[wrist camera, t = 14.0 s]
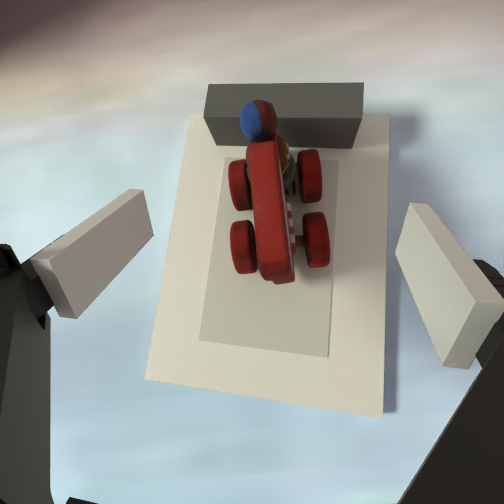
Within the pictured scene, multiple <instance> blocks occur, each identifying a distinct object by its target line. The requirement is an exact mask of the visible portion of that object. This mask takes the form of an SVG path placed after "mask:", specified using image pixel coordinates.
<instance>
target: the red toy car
mask: <svg viewBox="0 0 504 504" xmlns="http://www.w3.org/2000/svg"><path fill="white" fill-rule="evenodd" d="M277 123H278V121H277V116H276V112H275V110H274V107H273V104H272V103H271V102H266V101H263V100H253V101H251V102H249V103H248V104H247V105H245V107H244V108H243V110H242V112H241V115H240V126H241V129H242V131H243V133H244V135H245V136H246V137H247V138H248V139H250V143H249V145H248V147H247V149H246V159H241V160H235V161H232V162H230V164H229V167H228V179H229V189H230V194H231V199H232V202H233V205H234V207H235V209H236V210H237V211H247V210H252V209H253V216H254V226H253V224H252V222H251V221H250V220H242V221H236V222H233V223H232V225H231V228H230V249H231V255H232V260H233V264H234V267H235V270H236V271H237V273H239V274H252V273H255V272H257V269H258V267H259V271H260V274H261V276H262V278H263V279H264V280H265V281H272V282H273V283H274V284H276V285H279V284H286V283H291V282H294V281H295V272H294V262H293V256H294V254H295V251H296V248H305V254H306V260H307V264H308V266H309V267H310V268H319V267H326V266H328V265H329V263H330V239H329V232H328V226H327V221H326V218H325V215H324V213H323V212H311V213H305V214H304V215H303V217H302V228H303V235H298V236H294V226H293V219H292V211H291V205H290V202H289V200H288V199H287V198H286V196H285V194H287V195H288V196H294V195H300V196H301V201H302V202H303V203H304V204H308V203H316V202H319V201H320V200H321V198H322V170H321V162H320V157H319V153H318V150H317V149H308V150H301V151H300V152H298V155H297V162H295V161H294V158H293V156H292V155H291V154H290V149H289V146H288V144H287V142H286V141H285V140H284V139H283V137H281V136H280V135H279V134H278V130H277ZM254 227H255V230H254Z"/></svg>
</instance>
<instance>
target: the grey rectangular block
mask: <svg viewBox="0 0 504 504" xmlns="http://www.w3.org/2000/svg"><path fill="white" fill-rule="evenodd" d="M363 91H364V82H363V83H274V84H209V85H208V91H207V97H206V103H205V109H204V115H203V118H204V120H205V122H206V124H207V126H208V128H209V131H210V133H211V135H212V137H213V139H214V142H215V144H216V146H248V145H249V143H250V139H248V138H247V137H246V136H245V135H244V133H243V131H242V129H241V126H240V115H241V112H242V110H243V108H244V107H245V105H247V104H248V103H249V102H251V101H253V100H263V101H266V102H271V103H272V104H273V107H274V110H275V112H276V116H277V121H278V123H277V130H278V134H279V135H280V136H281V137H283V139H284V140H285V141H286V142H287V144H288V146H289V147H295V148H337V149H352V147H353V144H354V141H355V138H356V135H357V132H358V129H359V126H360V124H361V121H362V114H363Z"/></svg>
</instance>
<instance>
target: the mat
mask: <svg viewBox="0 0 504 504" xmlns="http://www.w3.org/2000/svg"><path fill="white" fill-rule="evenodd" d="M203 115H204V114H191V116H190V122H189V128H188V134H187V139H186V145H185V151H184V156H183V162H182V168H181V173H180V179H179V185H178V191H177V196H176V202H175V208H174V213H173V219H172V225H171V230H170V236H169V242H168V248H167V253H166V259H165V265H164V270H163V276H162V282H161V287H160V293H159V299H158V305H157V310H156V316H155V322H154V327H153V333H152V339H151V344H150V350H149V356H148V362H147V367H146V373H145V379H147V380H153V381H159V382H165V383H171V384H178V385H184V386H190V387H196V388H202V389H208V390H214V391H220V392H226V393H232V394H238V395H245V396H251V397H257V398H263V399H269V400H275V401H281V402H287V403H293V404H299V405H305V406H311V407H318V408H324V409H330V410H336V411H342V412H348V413H354V414H360V415H366V416H372V417H378V418H383V391H384V347H385V304H386V261H387V218H388V174H389V131H390V115H362V121H361V124H360V126H359V129H358V132H357V135H356V138H355V141H354V144H353V147H352V149H337V148H295V147H289V149H290V154H291V155H292V156H293V158H294V161H295V162H297V155H298V152H300V151H301V150H308V149H317V150H318V153H319V157H320V162H321V170H322V198H321V200H320V201H319V202H316V203H308V204H304V203H303V202H302V201H301V196H300V195H294V196H288V195H287V194H285V196H286V198H287V199H288V200H289V202H290V205H291V211H292V219H293V226H294V236H298V235H303V228H302V217H303V215H304V214H305V213H311V212H323V213H324V215H325V218H326V221H327V226H328V232H329V239H330V263H329V265H328V266H326V267H319V268H310V267H309V266H308V264H307V260H306V254H305V248H296V251H295V254H294V256H293V262H294V272H295V281H294V282H291V283H286V284H279V285H276V284H274V283H273V282H272V281H265V280H264V279H263V278H262V276H261V274H260V271H259V267H258V269H257V272H255V273H252V274H239V273H237V271H236V270H235V267H234V264H233V260H232V255H231V249H230V228H231V225H232V223H233V222H236V221H242V220H250V221H251V222H252V224H253V226H254V216H253V209H252V210H247V211H237V210H236V209H235V207H234V205H233V202H232V199H231V194H230V189H229V179H228V167H229V164H230V162H232V161H235V160H241V159H246V149H247V147H248V146H216V144H215V142H214V139H213V137H212V135H211V133H210V131H209V128H208V126H207V124H206V122H205V120H204V118H203ZM254 230H255V227H254Z"/></svg>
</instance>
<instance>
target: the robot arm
mask: <svg viewBox="0 0 504 504" xmlns="http://www.w3.org/2000/svg"><path fill="white" fill-rule="evenodd" d="M153 236H154V234H153V230H152V226H151V222H150V217H149V213H148V209H147V205H146V200H145V196H144V192H143V190H136V189H129V190H128V191H126V192H125V193H124V194H122V195H121V196H119V197H118V198H116V199H115V200H113V201H112V202H111V203H109V204H108V205H106V206H105V207H103V208H102V209H101V210H99V211H98V212H96V213H95V214H93V215H92V216H91V217H89V218H88V219H86V220H85V221H83V222H82V223H80V224H79V225H78V226H76V227H75V228H73V229H72V230H70V231H69V232H68V233H66V234H64V235H62V236H61V237H59V238H58V239H56V240H55V241H53V243H51V244H49V245H48V246H46V248H43V249H42V250H40V251H39V252H38V253H36V254H35V255H33V256H32V257H30V258H29V259H27V260H26V261H25V262H23V263H22V264H20V262H19V260H18V259H17V257H16V255H15V253H14V251H13V250H12V248H11V246H10V245H7V244H0V504H54V502H53V499H52V496H51V491H50V320H51V319H50V317H49V315H48V313H47V311H48V310H49V309H50V308H51V307H52V306H54V307H55V309H56V311H57V312H58V314H59V316H60V317H66V318H74V319H77V318H78V317H79V316H80V315H81V314H82V313H83V312H84V311H85V310H86V308H87V307H88V306H89V305H90V304H91V303H92V302H93V301H94V300H95V299H96V298H97V297H98V295H99V294H100V293H101V292H102V291H103V290H104V289H105V288H106V287H107V286H108V285H109V283H110V282H111V281H112V280H113V279H114V278H115V277H116V276H117V275H118V274H119V273H120V272H121V270H122V269H123V268H124V267H125V266H126V265H127V264H128V263H129V262H130V261H131V260H132V258H133V257H134V256H135V255H136V254H137V253H138V252H139V251H140V250H141V249H142V248H143V247H144V245H145V244H146V243H147V242H148V241H149V240H150V239H151V238H152V237H153ZM395 255H396V257H397V259H398V262H399V264H400V267H401V269H402V271H403V274H404V276H405V279H406V281H407V283H408V286H409V288H410V291H411V293H412V295H413V298H414V300H415V303H416V305H417V307H418V310H419V312H420V315H421V317H422V319H423V322H424V324H425V327H426V329H427V331H428V334H429V336H430V339H431V341H432V343H433V346H434V348H435V351H436V353H437V355H438V358H439V360H440V363H441V365H442V366H446V367H454V368H462V369H469V367H470V366H471V364H472V362H473V361H474V359H475V358H476V357H477V359H478V361H479V363H480V365H481V367H482V370H481V371H480V373H479V374H478V376H477V377H476V379H475V380H474V382H473V383H472V385H471V387H470V388H469V390H468V392H467V393H466V395H465V397H464V398H463V400H462V401H461V403H460V405H459V406H458V408H457V409H456V411H455V412H454V414H453V416H452V417H451V419H450V420H449V422H448V424H447V425H446V427H445V428H444V430H443V432H442V433H441V435H440V436H439V438H438V440H437V441H436V443H435V444H434V446H433V448H432V449H431V451H430V452H429V454H428V455H427V457H426V459H425V460H424V462H423V463H422V465H421V467H420V468H419V470H418V471H417V473H416V475H415V476H414V478H413V479H412V481H411V483H410V484H409V486H408V487H407V489H406V491H405V492H404V494H403V495H402V497H401V498H400V500H399V502H398V503H397V504H504V278H503V277H502V275H501V274H500V273H499V272H498V271H497V270H496V269H495V268H494V267H492V266H491V265H489V264H488V263H486V262H485V261H483V260H476V259H471V257H470V256H469V255H468V254H467V252H466V251H465V250H464V248H463V247H462V246H461V245H460V243H459V242H458V241H457V240H456V238H455V237H454V236H453V235H452V233H451V232H450V231H449V229H448V228H447V227H446V226H445V224H444V223H443V222H442V221H441V219H440V218H439V217H438V216H437V214H436V213H435V212H434V211H433V209H432V208H431V207H430V205H429V204H428V203H410V204H409V207H408V210H407V214H406V217H405V221H404V224H403V228H402V231H401V234H400V238H399V241H398V245H397V248H396V251H395ZM66 504H97V503H93V502H89V501H85V500H80V499H76V498H72V497H69V499H68V501H67V502H66Z"/></svg>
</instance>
